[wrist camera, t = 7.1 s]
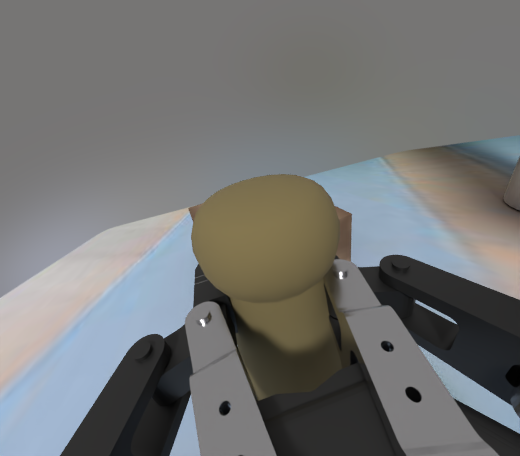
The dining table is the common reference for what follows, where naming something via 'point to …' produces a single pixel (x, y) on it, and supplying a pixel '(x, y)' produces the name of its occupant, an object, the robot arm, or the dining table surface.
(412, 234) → the dining table surface
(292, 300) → the cork
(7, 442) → the dining table surface
